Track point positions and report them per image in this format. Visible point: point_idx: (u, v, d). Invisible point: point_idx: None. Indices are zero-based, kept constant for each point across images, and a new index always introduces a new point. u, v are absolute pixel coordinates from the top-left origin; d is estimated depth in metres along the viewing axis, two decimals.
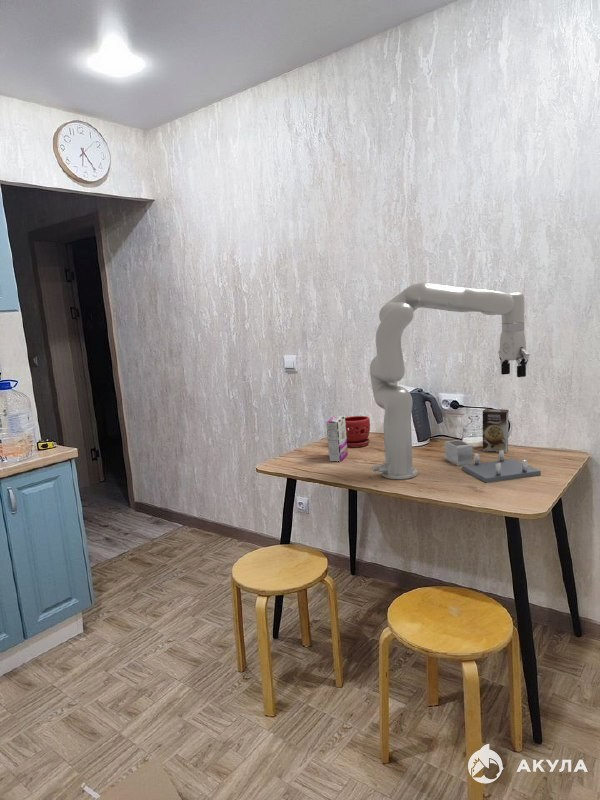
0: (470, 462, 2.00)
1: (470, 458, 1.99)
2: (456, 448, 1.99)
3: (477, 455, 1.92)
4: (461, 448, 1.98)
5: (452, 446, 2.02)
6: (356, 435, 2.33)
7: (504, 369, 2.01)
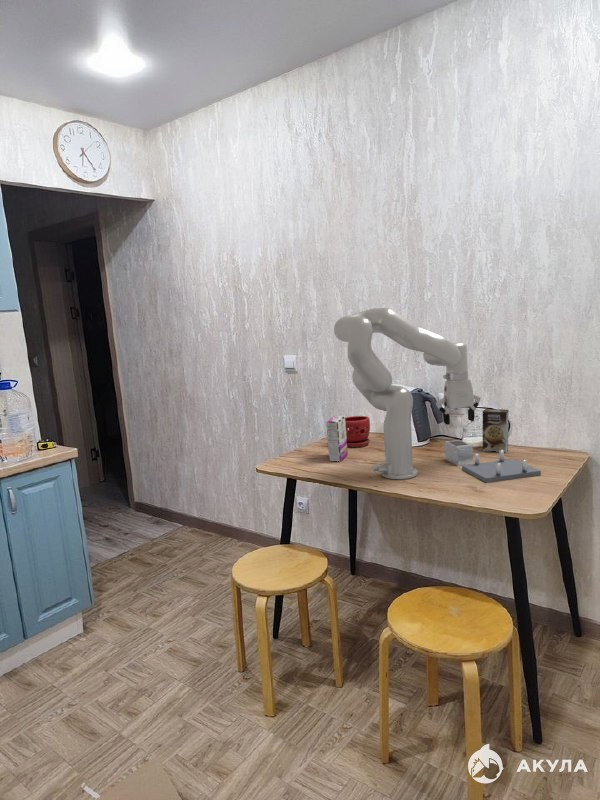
0: (470, 462, 2.00)
1: (470, 458, 1.99)
2: (456, 448, 1.98)
3: (477, 455, 1.92)
4: (461, 448, 1.98)
5: (452, 446, 2.01)
6: (356, 435, 2.33)
7: None
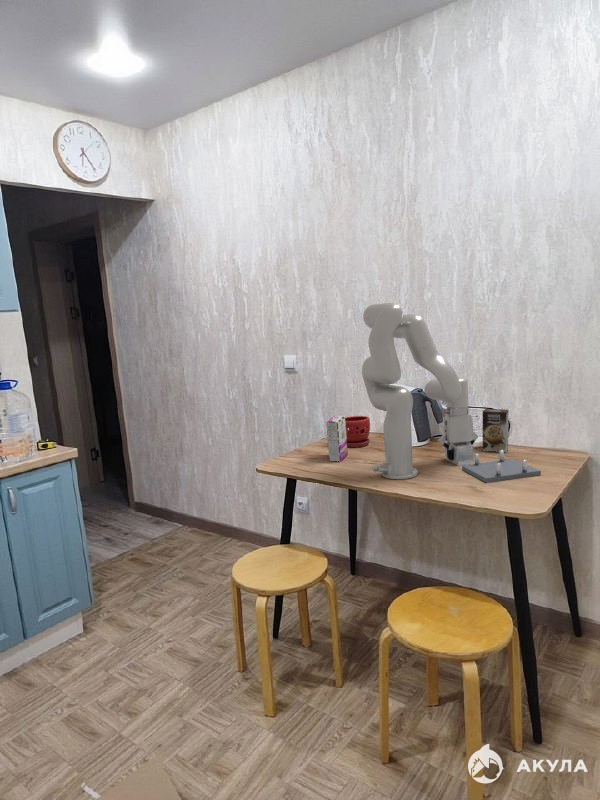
0: (470, 462, 2.00)
1: (470, 458, 1.99)
2: (456, 448, 1.98)
3: (477, 455, 1.92)
4: (461, 448, 1.98)
5: (452, 446, 2.01)
6: (356, 435, 2.33)
7: None
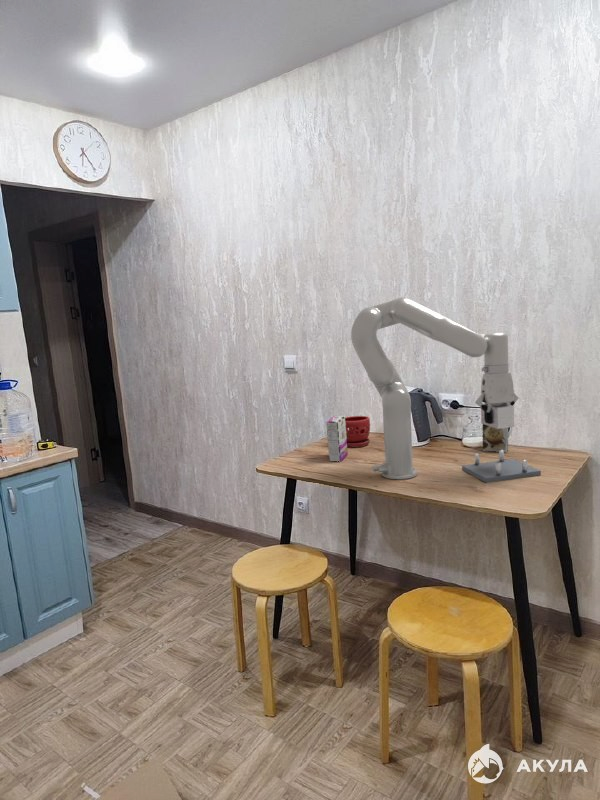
0: (511, 424, 1.82)
1: (511, 420, 1.82)
2: (496, 409, 1.80)
3: (477, 455, 1.92)
4: (501, 409, 1.80)
5: (491, 407, 1.83)
6: (356, 435, 2.33)
7: None
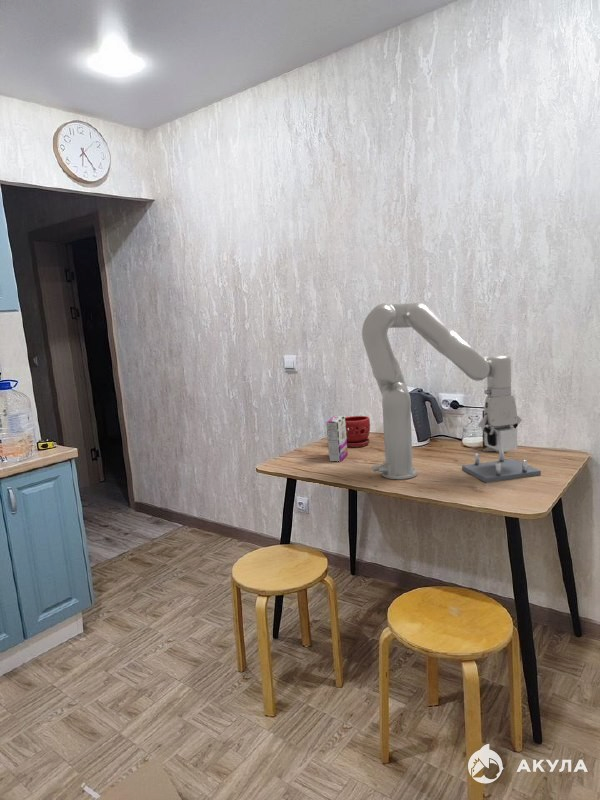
0: (514, 447, 1.82)
1: (514, 443, 1.82)
2: (499, 432, 1.81)
3: (477, 455, 1.92)
4: (504, 432, 1.80)
5: (494, 430, 1.84)
6: (356, 435, 2.33)
7: None
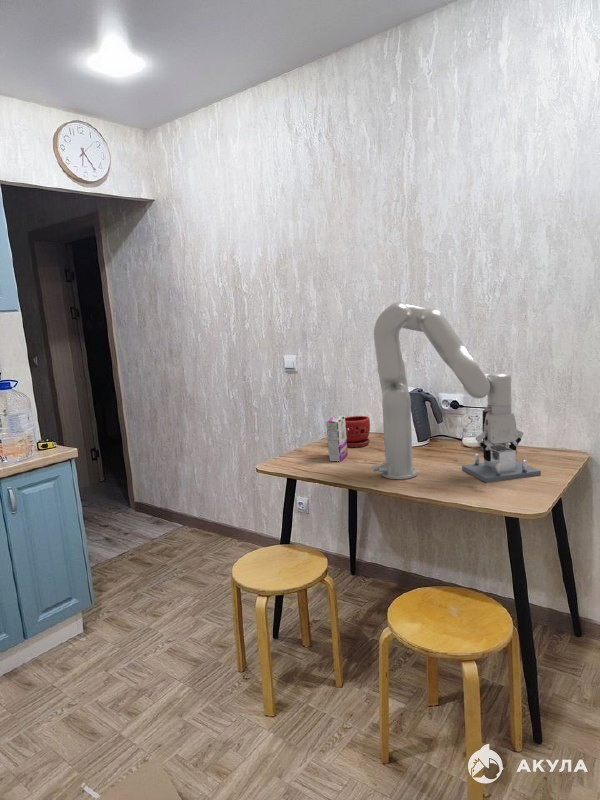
0: (513, 469, 1.83)
1: (513, 464, 1.83)
2: (498, 453, 1.82)
3: (477, 455, 1.92)
4: (503, 453, 1.82)
5: (493, 451, 1.85)
6: (356, 435, 2.33)
7: None
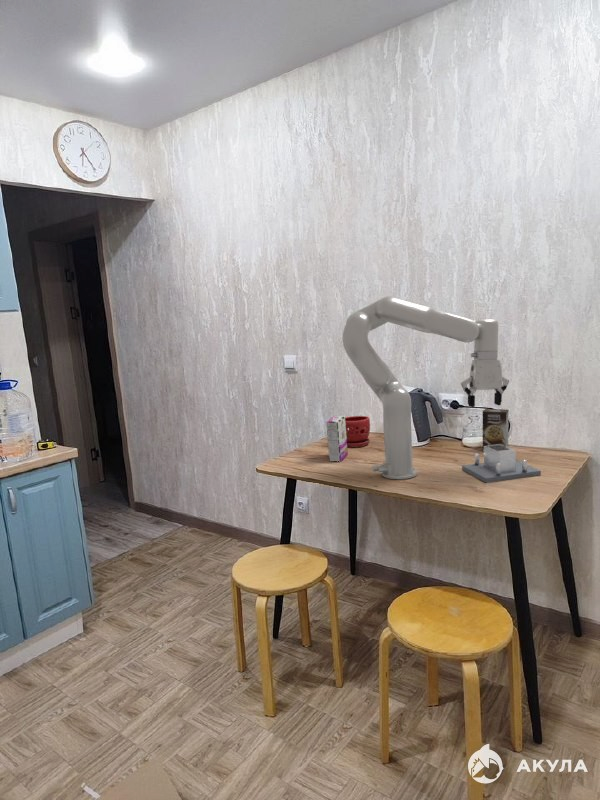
0: (513, 469, 1.83)
1: (513, 464, 1.83)
2: (498, 453, 1.82)
3: (477, 455, 1.92)
4: (503, 453, 1.82)
5: (493, 451, 1.85)
6: (356, 435, 2.33)
7: None
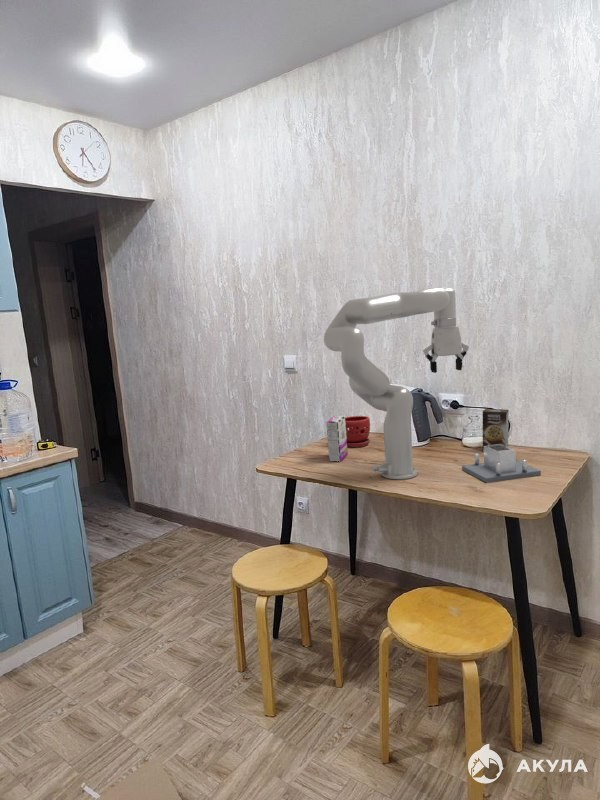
0: (513, 469, 1.83)
1: (513, 464, 1.83)
2: (498, 453, 1.82)
3: (477, 455, 1.92)
4: (503, 453, 1.82)
5: (493, 451, 1.85)
6: (356, 435, 2.33)
7: None
